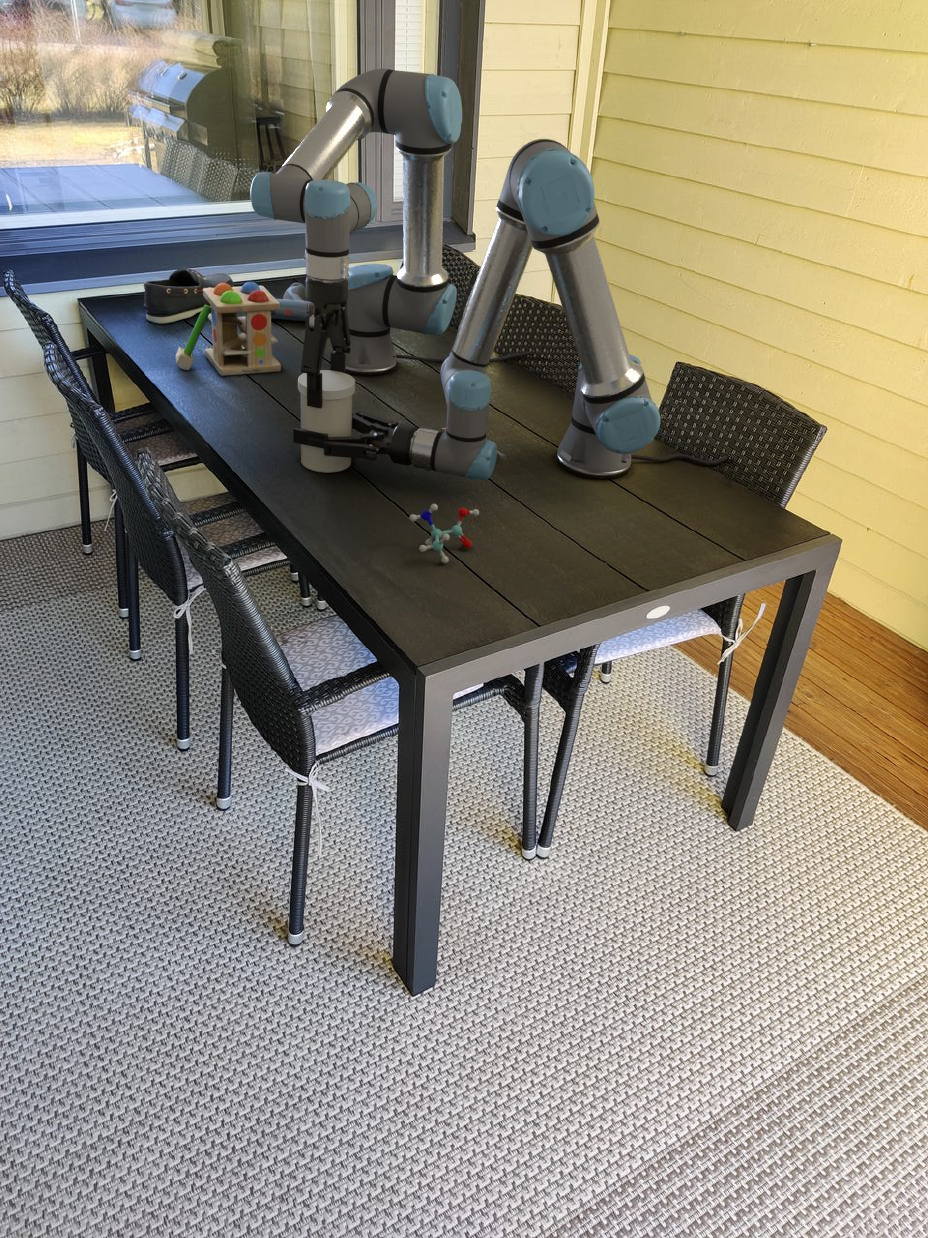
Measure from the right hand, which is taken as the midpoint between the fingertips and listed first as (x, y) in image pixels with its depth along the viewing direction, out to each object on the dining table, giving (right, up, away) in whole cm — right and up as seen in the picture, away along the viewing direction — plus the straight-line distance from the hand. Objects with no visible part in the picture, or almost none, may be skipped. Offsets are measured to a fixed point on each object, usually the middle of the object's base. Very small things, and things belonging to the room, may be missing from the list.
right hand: (305, 425), depth 190 cm
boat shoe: (-42, +46, +73) cm, 96 cm away
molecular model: (+26, -26, -22) cm, 43 cm away
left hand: (+5, +5, -4) cm, 8 cm away
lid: (+5, +7, -6) cm, 10 cm away
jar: (+4, -7, +3) cm, 8 cm away
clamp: (+31, -3, +12) cm, 34 cm away
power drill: (-12, +46, +78) cm, 91 cm away
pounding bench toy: (-25, +22, +41) cm, 53 cm away
